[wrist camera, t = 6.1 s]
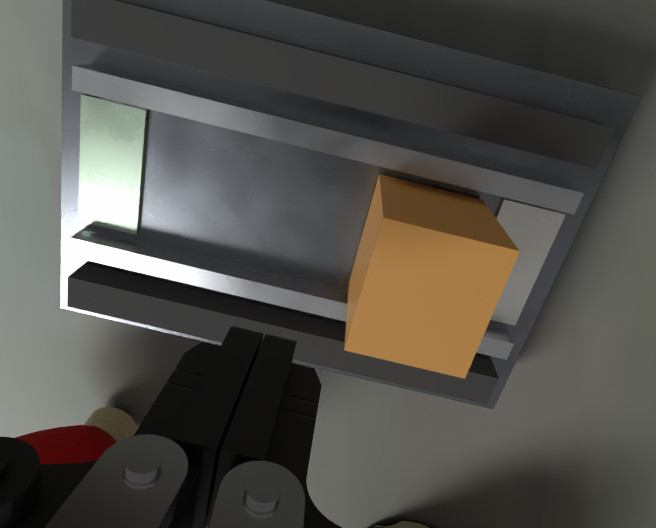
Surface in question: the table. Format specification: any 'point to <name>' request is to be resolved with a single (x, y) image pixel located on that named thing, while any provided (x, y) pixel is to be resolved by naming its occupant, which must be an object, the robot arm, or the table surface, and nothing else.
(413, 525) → the flower pot
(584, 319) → the table surface
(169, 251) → the panel
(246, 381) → the robot arm
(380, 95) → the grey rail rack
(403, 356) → the tan cardboard cube
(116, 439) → the red heart figurine
